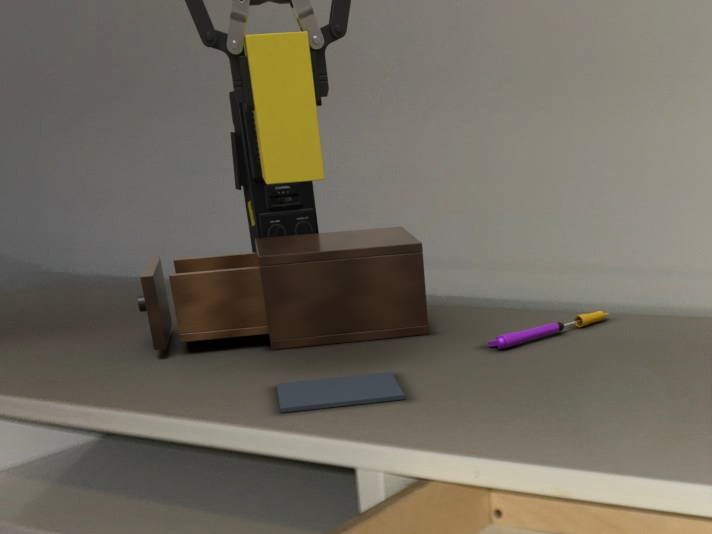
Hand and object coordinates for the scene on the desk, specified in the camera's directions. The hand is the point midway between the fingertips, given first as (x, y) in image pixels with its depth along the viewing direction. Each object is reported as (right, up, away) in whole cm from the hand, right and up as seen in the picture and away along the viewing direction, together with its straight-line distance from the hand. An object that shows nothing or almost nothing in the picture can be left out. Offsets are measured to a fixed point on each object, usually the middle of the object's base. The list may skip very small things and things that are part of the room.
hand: (283, 107), depth 83 cm
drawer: (-11, -9, +27) cm, 31 cm away
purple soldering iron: (+22, -11, +22) cm, 33 cm away
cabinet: (+1, -9, +30) cm, 31 cm away
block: (0, -5, +2) cm, 5 cm away
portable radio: (-6, -4, +39) cm, 40 cm away
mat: (+3, -21, +6) cm, 22 cm away
